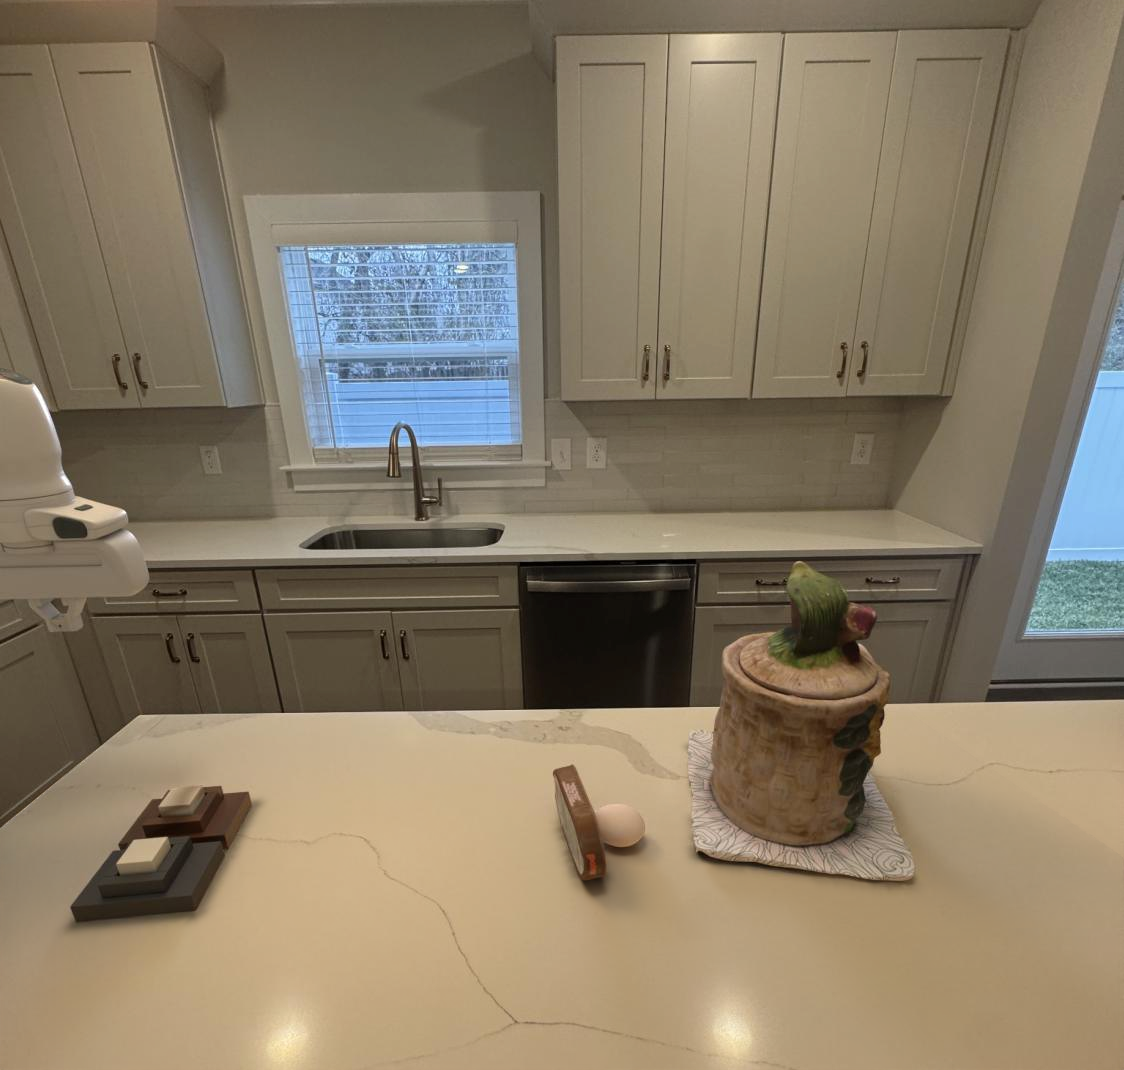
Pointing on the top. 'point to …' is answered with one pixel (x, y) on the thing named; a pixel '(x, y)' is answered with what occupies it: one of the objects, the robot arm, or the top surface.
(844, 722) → the cookie jar
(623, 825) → the egg
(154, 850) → the key
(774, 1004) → the top surface
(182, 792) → the key
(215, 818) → the brown push button base
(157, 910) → the dark grey stepped block
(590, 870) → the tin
